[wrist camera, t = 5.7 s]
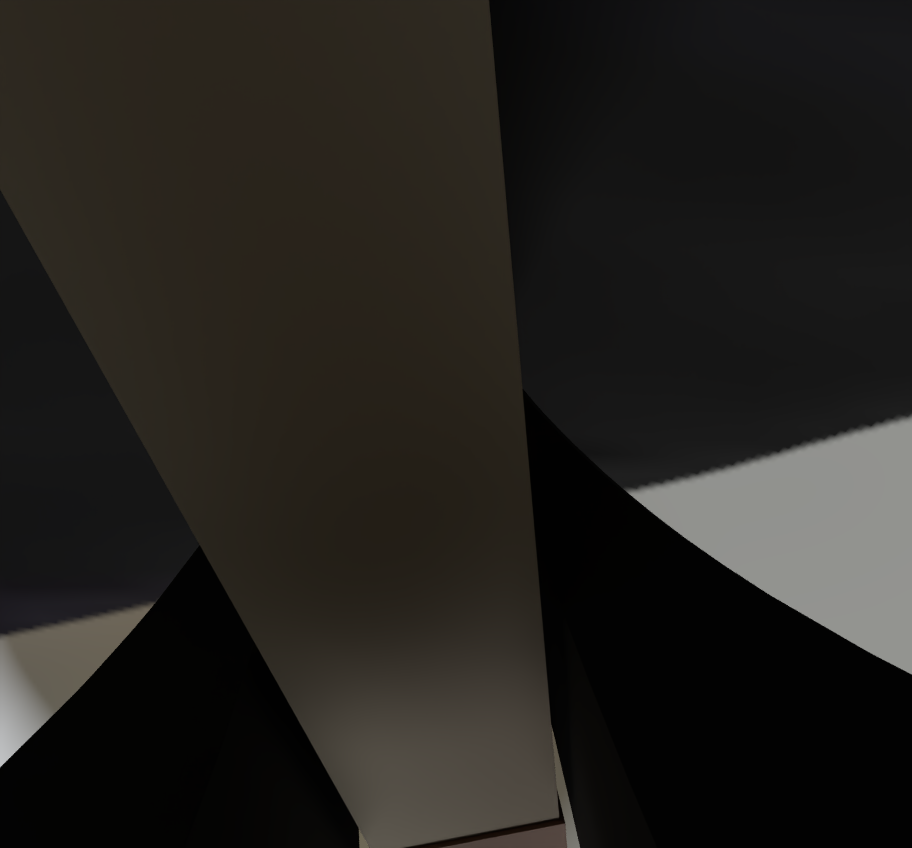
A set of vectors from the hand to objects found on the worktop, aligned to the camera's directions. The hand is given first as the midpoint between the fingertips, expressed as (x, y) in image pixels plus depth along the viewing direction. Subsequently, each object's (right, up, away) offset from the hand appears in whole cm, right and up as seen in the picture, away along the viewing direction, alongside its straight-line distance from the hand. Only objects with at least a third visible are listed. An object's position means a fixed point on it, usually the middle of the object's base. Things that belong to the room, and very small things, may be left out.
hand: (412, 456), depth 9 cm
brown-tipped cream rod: (-1, +4, -1) cm, 4 cm away
